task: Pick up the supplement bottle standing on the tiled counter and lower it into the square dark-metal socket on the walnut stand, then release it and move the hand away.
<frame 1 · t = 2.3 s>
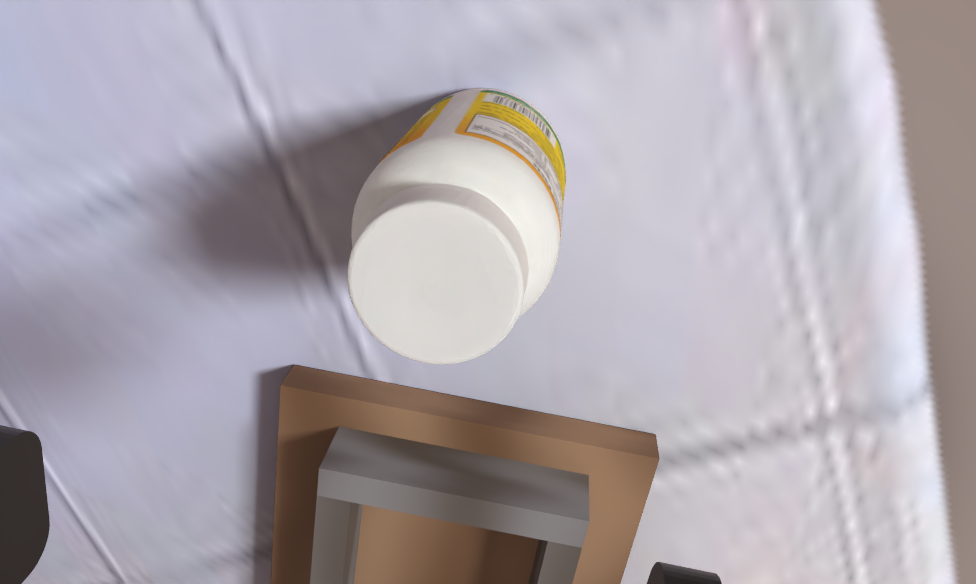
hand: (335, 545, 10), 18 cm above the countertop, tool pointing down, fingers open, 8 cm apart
socket stand: (452, 519, 32), on the countertop
supplement bottle: (484, 165, 26), on the countertop
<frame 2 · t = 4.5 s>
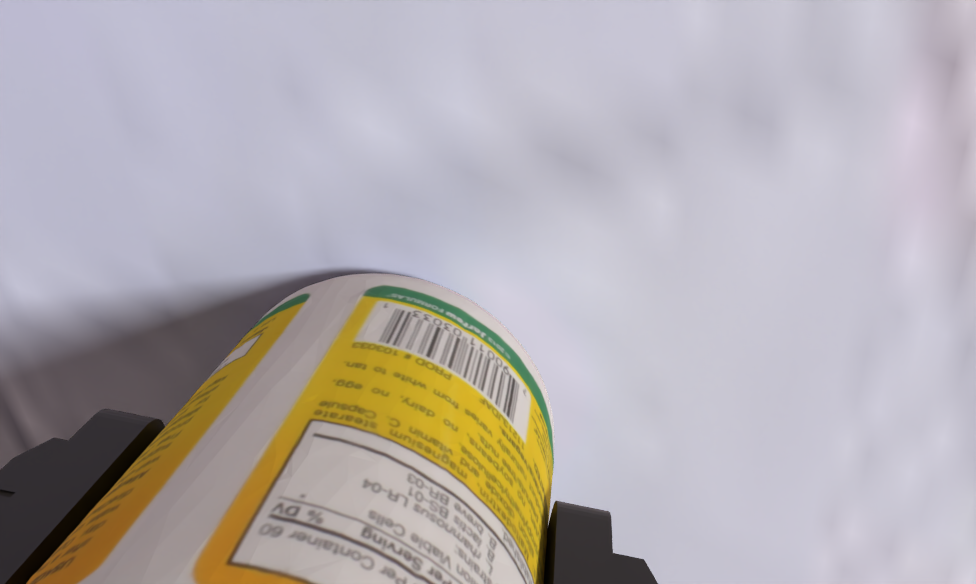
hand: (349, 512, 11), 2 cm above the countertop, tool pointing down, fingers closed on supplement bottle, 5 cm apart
supplement bottle: (394, 406, 13), on the countertop, touching gripper
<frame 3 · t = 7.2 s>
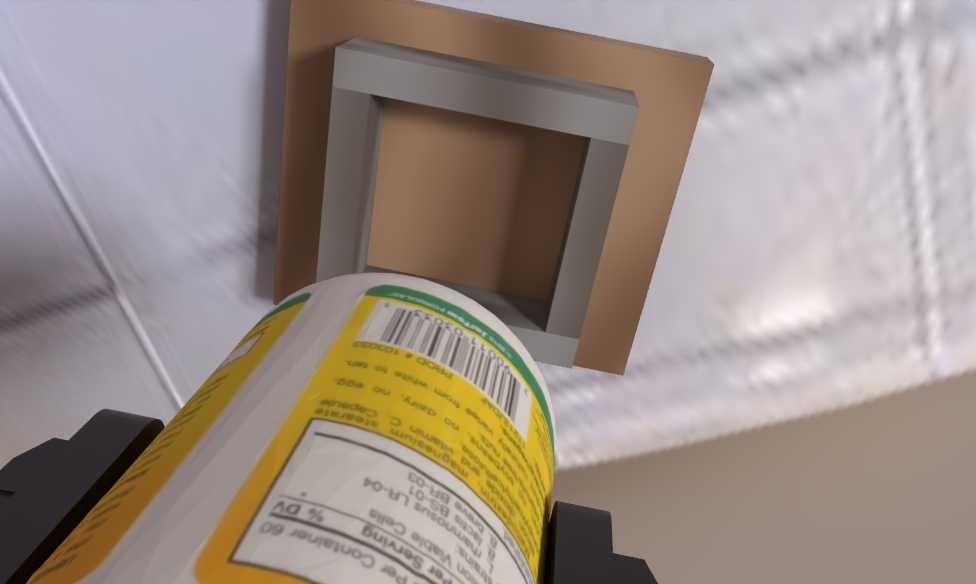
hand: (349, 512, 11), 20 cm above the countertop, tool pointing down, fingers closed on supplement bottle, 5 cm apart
socket stand: (476, 183, 29), on the countertop
supplement bottle: (395, 405, 13), point 17 cm above the countertop, touching gripper
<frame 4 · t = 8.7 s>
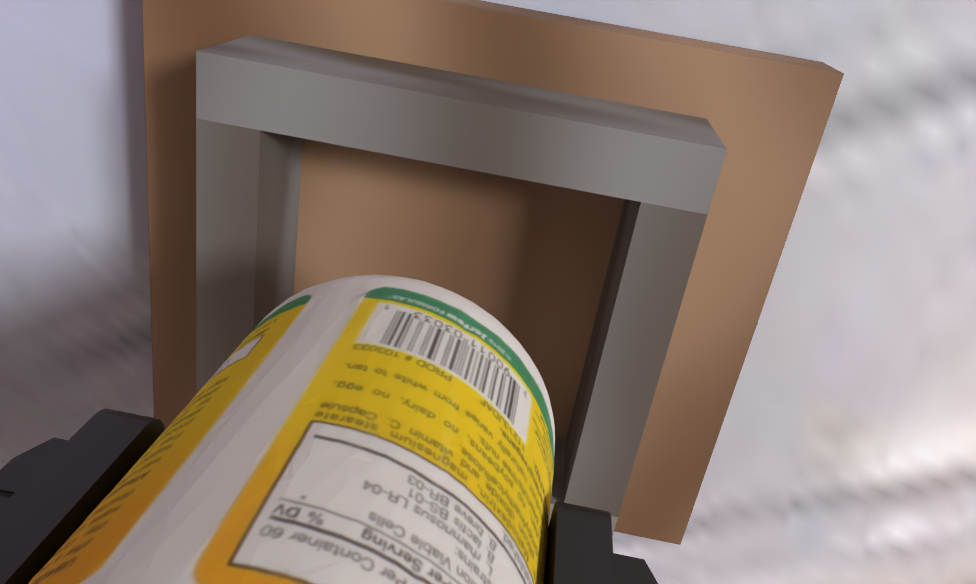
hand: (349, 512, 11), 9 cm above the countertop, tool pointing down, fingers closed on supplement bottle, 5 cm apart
socket stand: (455, 259, 19), on the countertop
supplement bottle: (395, 407, 13), point 7 cm above the countertop, touching gripper
when the fingers open (5 cm above the countertop, at t = 10.0 s): supplement bottle drops 1 cm, resting on socket stand.
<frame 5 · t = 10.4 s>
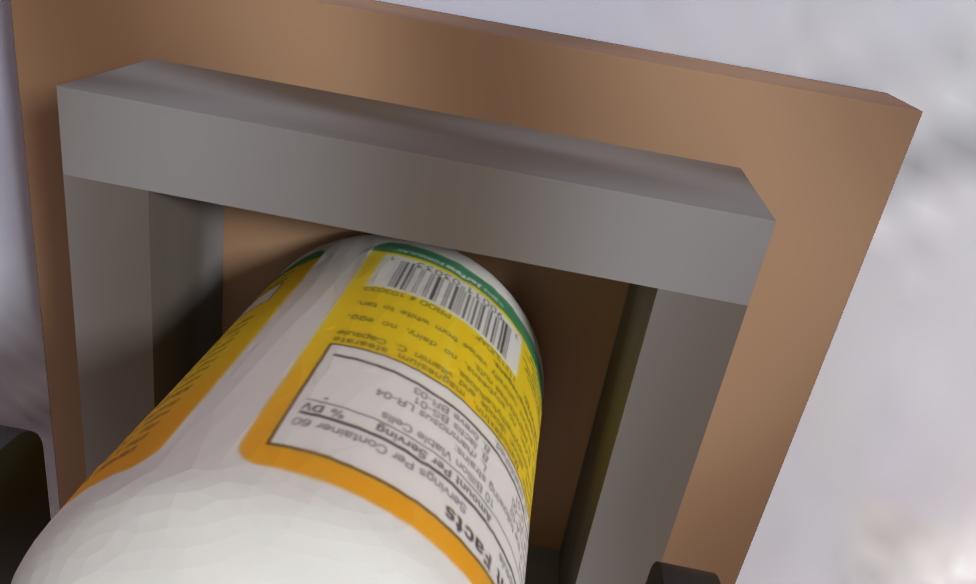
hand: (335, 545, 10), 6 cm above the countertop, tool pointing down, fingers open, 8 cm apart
socket stand: (423, 330, 16), on the countertop
supplement bottle: (399, 358, 14), point 1 cm above the countertop, touching socket stand
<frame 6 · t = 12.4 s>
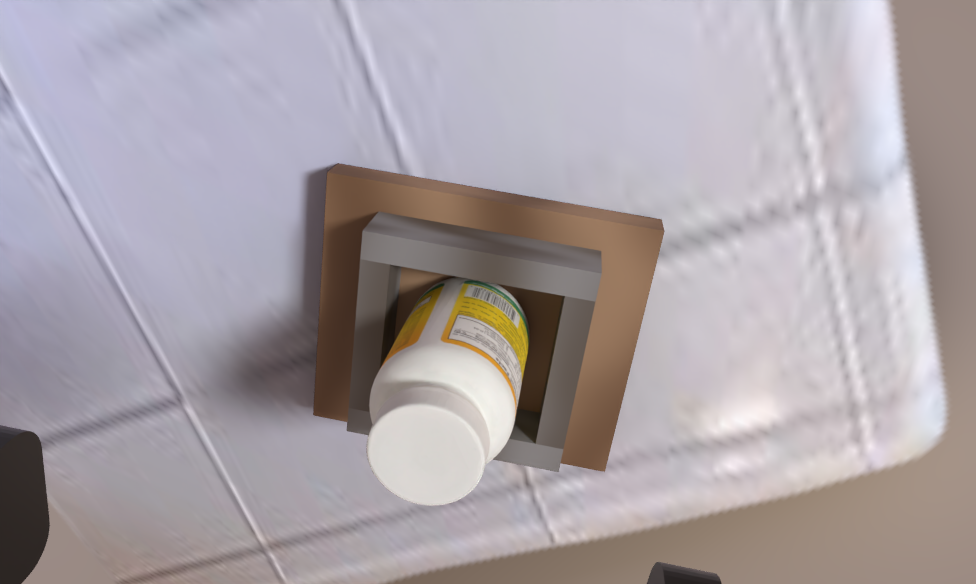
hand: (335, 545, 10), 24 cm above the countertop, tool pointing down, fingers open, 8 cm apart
socket stand: (478, 316, 36), on the countertop
supplement bottle: (470, 327, 35), point 1 cm above the countertop, touching socket stand
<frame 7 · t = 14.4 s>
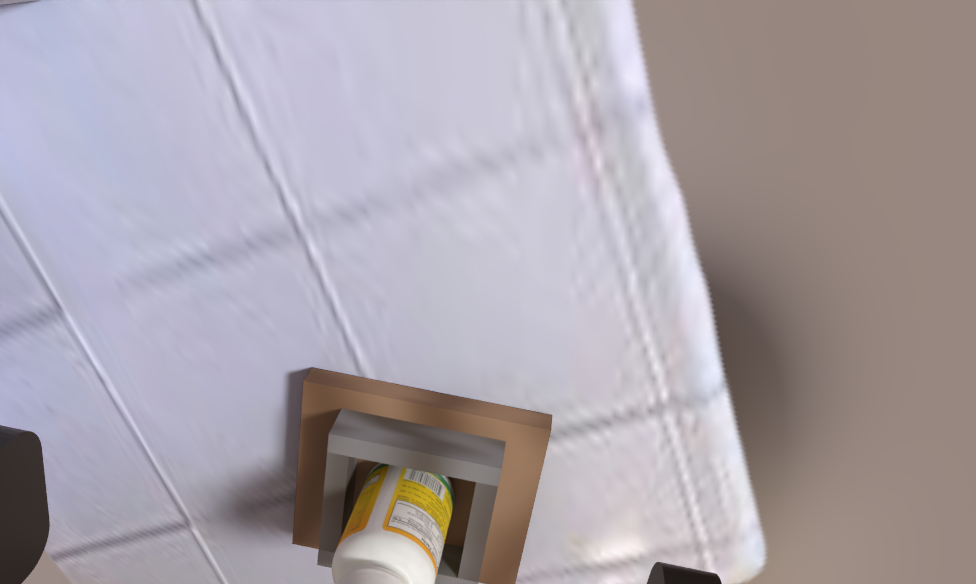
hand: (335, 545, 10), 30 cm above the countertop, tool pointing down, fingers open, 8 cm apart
socket stand: (418, 474, 47), on the countertop
supplement bottle: (410, 486, 46), point 1 cm above the countertop, touching socket stand
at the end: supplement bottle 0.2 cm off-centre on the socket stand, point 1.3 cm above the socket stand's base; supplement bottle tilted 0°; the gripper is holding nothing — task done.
